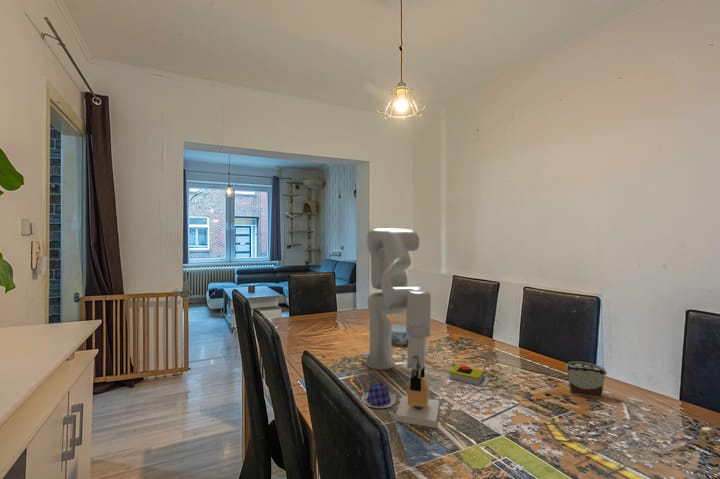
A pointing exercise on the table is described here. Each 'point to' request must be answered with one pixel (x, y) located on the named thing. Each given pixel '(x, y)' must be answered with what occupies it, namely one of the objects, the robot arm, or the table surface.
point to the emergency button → (468, 375)
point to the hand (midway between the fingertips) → (417, 383)
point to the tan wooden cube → (419, 394)
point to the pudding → (379, 396)
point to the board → (418, 413)
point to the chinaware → (399, 334)
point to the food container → (585, 378)
